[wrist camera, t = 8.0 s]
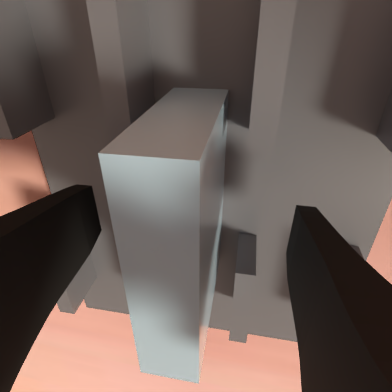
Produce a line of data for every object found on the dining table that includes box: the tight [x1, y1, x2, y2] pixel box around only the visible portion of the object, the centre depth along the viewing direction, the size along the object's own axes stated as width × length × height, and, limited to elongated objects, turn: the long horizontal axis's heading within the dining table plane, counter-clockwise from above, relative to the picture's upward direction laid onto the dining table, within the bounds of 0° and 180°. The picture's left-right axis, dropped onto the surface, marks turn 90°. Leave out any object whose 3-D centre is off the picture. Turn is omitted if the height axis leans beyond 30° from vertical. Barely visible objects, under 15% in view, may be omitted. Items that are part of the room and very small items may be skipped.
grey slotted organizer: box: [0, 0, 392, 343], centre depth 12 cm, size 15×20×4 cm
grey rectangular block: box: [98, 88, 229, 383], centre depth 10 cm, size 2×8×6 cm, turn 0°
